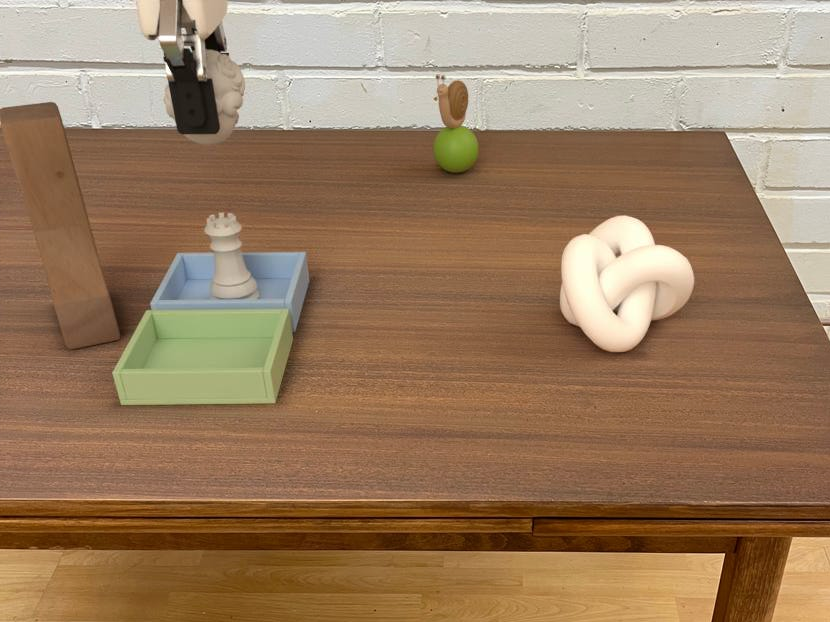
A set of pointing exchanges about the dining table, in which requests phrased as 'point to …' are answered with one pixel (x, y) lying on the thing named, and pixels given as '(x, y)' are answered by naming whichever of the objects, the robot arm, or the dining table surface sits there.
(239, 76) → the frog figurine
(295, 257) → the blue tray
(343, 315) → the dining table surface
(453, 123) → the snail figurine
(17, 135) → the wooden block
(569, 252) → the white knot sculpture
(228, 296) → the rook chess piece
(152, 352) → the green tray
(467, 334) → the dining table surface
